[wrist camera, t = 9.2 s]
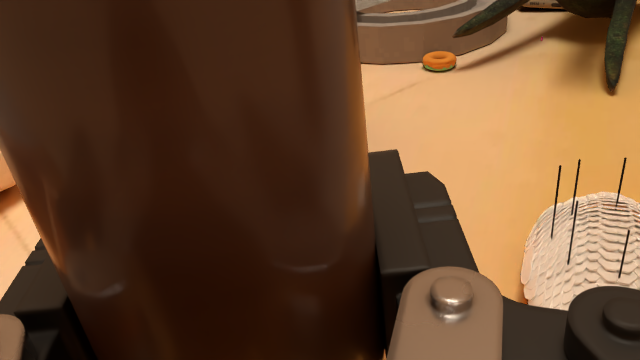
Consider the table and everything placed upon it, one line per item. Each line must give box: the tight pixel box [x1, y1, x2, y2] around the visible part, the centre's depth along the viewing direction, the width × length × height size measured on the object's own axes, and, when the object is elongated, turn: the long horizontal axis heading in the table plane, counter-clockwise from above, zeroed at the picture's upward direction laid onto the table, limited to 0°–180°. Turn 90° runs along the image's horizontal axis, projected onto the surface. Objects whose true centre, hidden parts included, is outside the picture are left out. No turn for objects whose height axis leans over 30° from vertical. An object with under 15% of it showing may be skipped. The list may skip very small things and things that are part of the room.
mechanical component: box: [356, 0, 507, 64], centre depth 52 cm, size 18×18×3 cm
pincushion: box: [520, 158, 640, 311], centre depth 20 cm, size 12×6×6 cm, turn 158°
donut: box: [422, 37, 543, 71], centre depth 45 cm, size 2×10×1 cm, turn 115°
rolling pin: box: [0, 0, 386, 360], centre depth 10 cm, size 4×4×16 cm
